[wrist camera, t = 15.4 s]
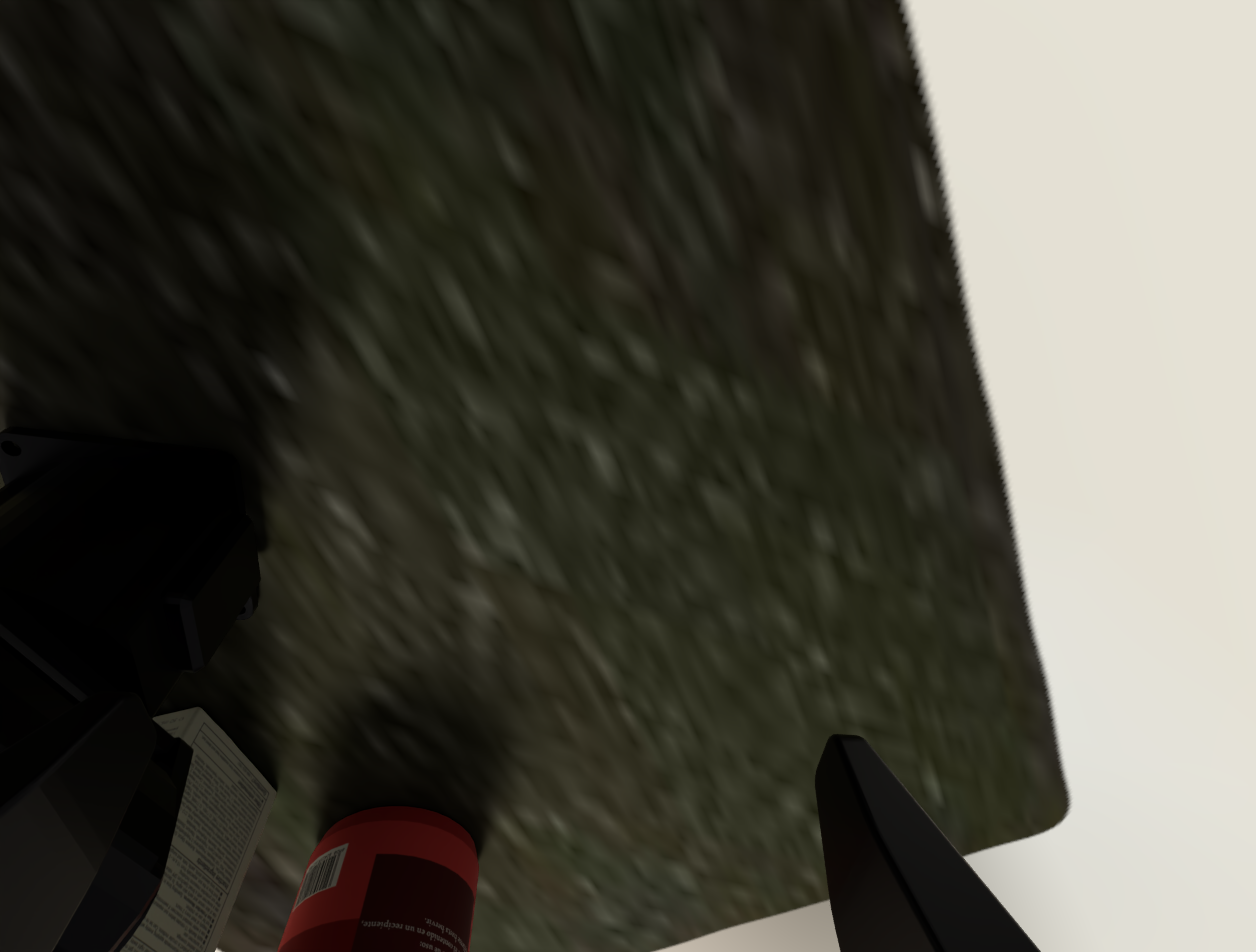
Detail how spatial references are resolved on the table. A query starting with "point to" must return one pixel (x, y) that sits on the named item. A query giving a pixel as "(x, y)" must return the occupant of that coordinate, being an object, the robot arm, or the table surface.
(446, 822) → the canned food
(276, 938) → the table surface
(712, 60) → the table surface
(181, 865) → the skincare box
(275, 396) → the table surface
